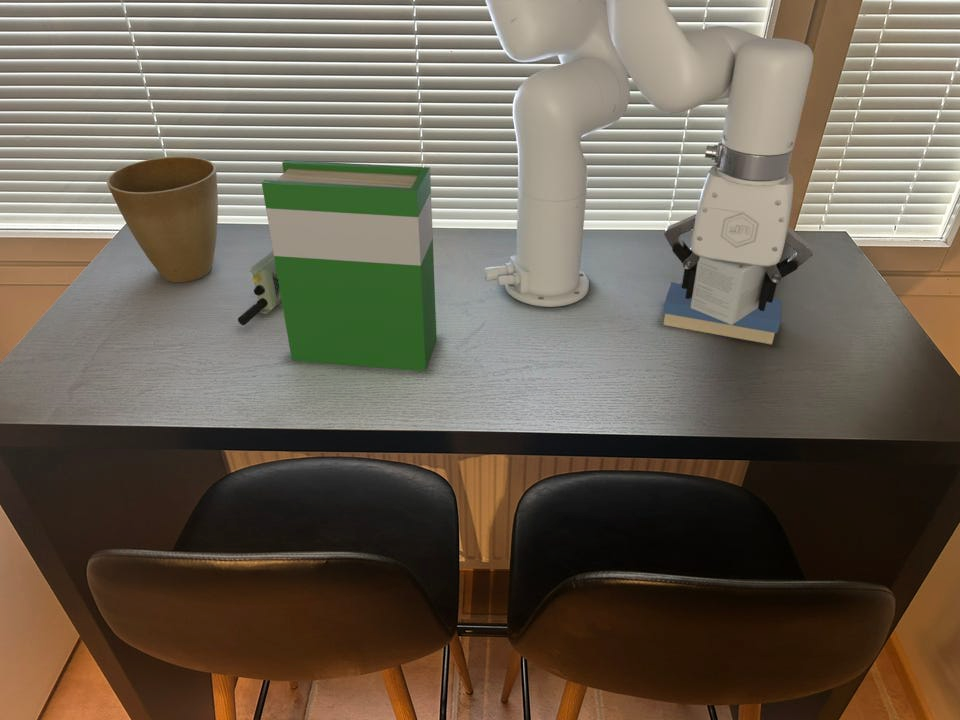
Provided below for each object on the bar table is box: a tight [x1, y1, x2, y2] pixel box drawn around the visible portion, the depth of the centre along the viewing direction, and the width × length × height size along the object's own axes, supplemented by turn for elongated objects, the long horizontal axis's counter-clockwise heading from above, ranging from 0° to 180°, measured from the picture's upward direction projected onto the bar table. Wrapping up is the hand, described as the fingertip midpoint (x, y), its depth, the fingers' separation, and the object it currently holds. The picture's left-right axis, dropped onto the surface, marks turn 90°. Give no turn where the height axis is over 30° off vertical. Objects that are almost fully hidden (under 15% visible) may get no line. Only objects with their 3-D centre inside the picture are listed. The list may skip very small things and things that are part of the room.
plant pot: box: [106, 155, 219, 283], centre depth 114 cm, size 15×15×16 cm
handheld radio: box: [237, 250, 282, 326], centre depth 112 cm, size 7×3×25 cm
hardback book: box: [261, 159, 438, 372], centre depth 93 cm, size 18×7×24 cm, turn 82°
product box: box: [690, 257, 767, 325], centre depth 92 cm, size 6×6×7 cm
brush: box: [662, 281, 783, 345], centre depth 104 cm, size 15×6×4 cm, turn 70°
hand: (725, 299), depth 93 cm, fingers closed on product box, 8 cm apart
